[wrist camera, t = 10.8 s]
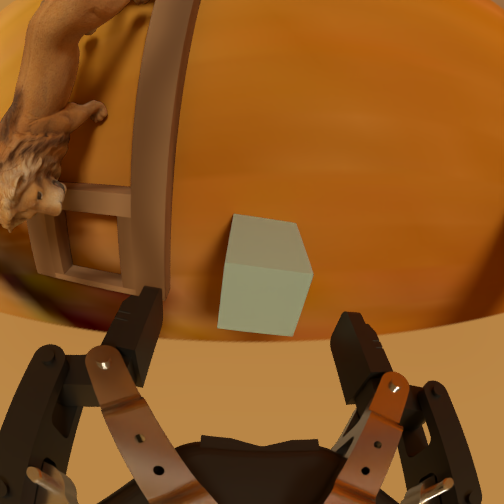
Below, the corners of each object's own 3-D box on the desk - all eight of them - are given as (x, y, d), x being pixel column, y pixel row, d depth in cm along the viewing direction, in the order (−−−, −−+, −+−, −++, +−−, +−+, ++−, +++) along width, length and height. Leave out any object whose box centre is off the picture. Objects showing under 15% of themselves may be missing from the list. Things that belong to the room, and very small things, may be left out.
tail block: (296, 223, 18) (313, 274, 12) (283, 275, 20) (292, 336, 14) (233, 213, 17) (224, 262, 12) (226, 267, 19) (217, 327, 14)
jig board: (206, -23, 10) (202, -33, 8) (170, 288, 20) (165, 300, 19) (53, 4, 9) (41, 1, 8) (46, 263, 19) (37, 272, 18)
